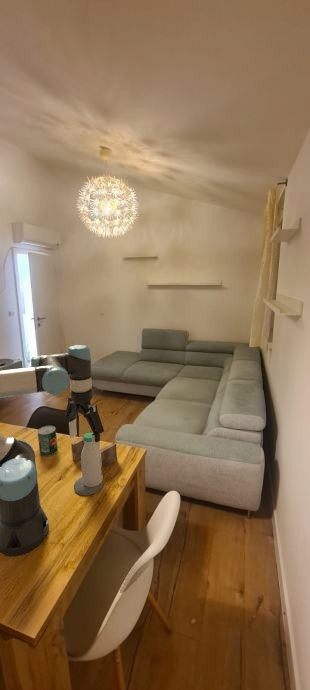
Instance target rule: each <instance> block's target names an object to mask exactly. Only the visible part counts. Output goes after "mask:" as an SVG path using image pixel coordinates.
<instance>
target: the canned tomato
mask: <svg viewBox="0 0 310 690" xmlns="http://www.w3.org/2000/svg"><path fill="white" fill-rule="evenodd" d="M56 430H57V429H56V427H55V426H54V425H45V426H42V427H40V428H38V430H37V438H38V441H37V442H38V447H39V455H40V456H42V457H50V456H53V455H54V454H56V453H58V448H59V447H58V441H57V440H58V439H57V431H56Z"/></svg>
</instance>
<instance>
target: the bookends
mask: <svg viewBox="0 0 310 690" xmlns="http://www.w3.org/2000/svg"><path fill="white" fill-rule="evenodd" d="M84 443H85V442H84V436H83V437H81V438H79V439H77V440H75V441H74V442H71V443H70V444H71V455H72V456H71V457H72V460H73V461H74V462H77V461H79V460H81V453H82V450H83V447H84ZM100 452H101V459H102V471H103V470H105V469H106V468H107V467H109V466H110V465H112V464H113V463H115V462H117V461H118V453H117V443H115V442H111V443H109V445H106V446H105V447H103V448H101V449H100Z"/></svg>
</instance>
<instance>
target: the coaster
mask: <svg viewBox="0 0 310 690" xmlns="http://www.w3.org/2000/svg"><path fill="white" fill-rule="evenodd" d="M103 486H104V481H103V480H102V482H101V483H100V484H99V485H98V486H95V487H87V486H85V485H84V484H83V480H82V476H81V477H79V478H78V479H76V481H74V484H73V490H74V492H75V493H76V494H77V495H79V496H83V497H85V496H86V497H87V496H92V495H95V494H96V493H98V492H100V490H101V489H103Z"/></svg>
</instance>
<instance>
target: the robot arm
mask: <svg viewBox="0 0 310 690" xmlns="http://www.w3.org/2000/svg"><path fill="white" fill-rule="evenodd" d="M66 351H67V352H63V353H55V354H46V355H45V354H41V355H38V356H37V355H36V356H32V357H31V358H30V364H31V365H30V367H21V368H20V367H19V368H12V369H3V370H0V399H3V398H9V397H15V396H23V395H30V394H35V393H36V394H37V393H44V392H46V393H48V394H50V395H54V396H55V395H60V394H62V393H64V392H65V391H66V390H67V389H68V387H69V388H70V397H68V398H67V405H66V408H65V413H64V415H63V417H64V419H66V420H67V422H68V431H69V438H70V439H73V438H74V437H77V436H78V433H77V432H78V431H77V419H76V417H77V415H78V414H81V415H82V416H83V418H85V419H86V421H87V424H88V426H89V428H90V430H91V432H92V450H93V451H95V450H97V449H100V448H101V447H100V446H101V445H100V443H101V442H100V441H101V434H102V433H104V432H105V429H104V426H103V423H102V420H101V417H100V414H99V412H98V405H97V404H94V405H92V403H91V401H92V399H93V388H92V387H93V385H92V382H93V381H92V358H91V356H92V355H91V350H90V347H89V346H88V345H84V344H75V345H71V346H68V348H67V350H66ZM38 482H39V481H38V469H37V463H36V454H35V450H34V449H33V447H32V445H31V444H30V443H29V442H28V441H26V440H23V439H16V438H15V437H13V436H11V435H10V436H6V437H5V436H4V435H2V433H0V554H2V555H4V556H7V557H15V556H21V555H25V554H27V553H30V552H31V551H33V550H34V549H35V548H37V547H39V545H40V544H42V543H43V541H44V540H45V539H46V537H47V535H48V533H49V529H50V526H49V519H48V518H49V517H48V516H47V514H46V513H45V511H44V509H43V507H42V506H41V499H40V491H39V489H40V488H39V483H38Z"/></svg>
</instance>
